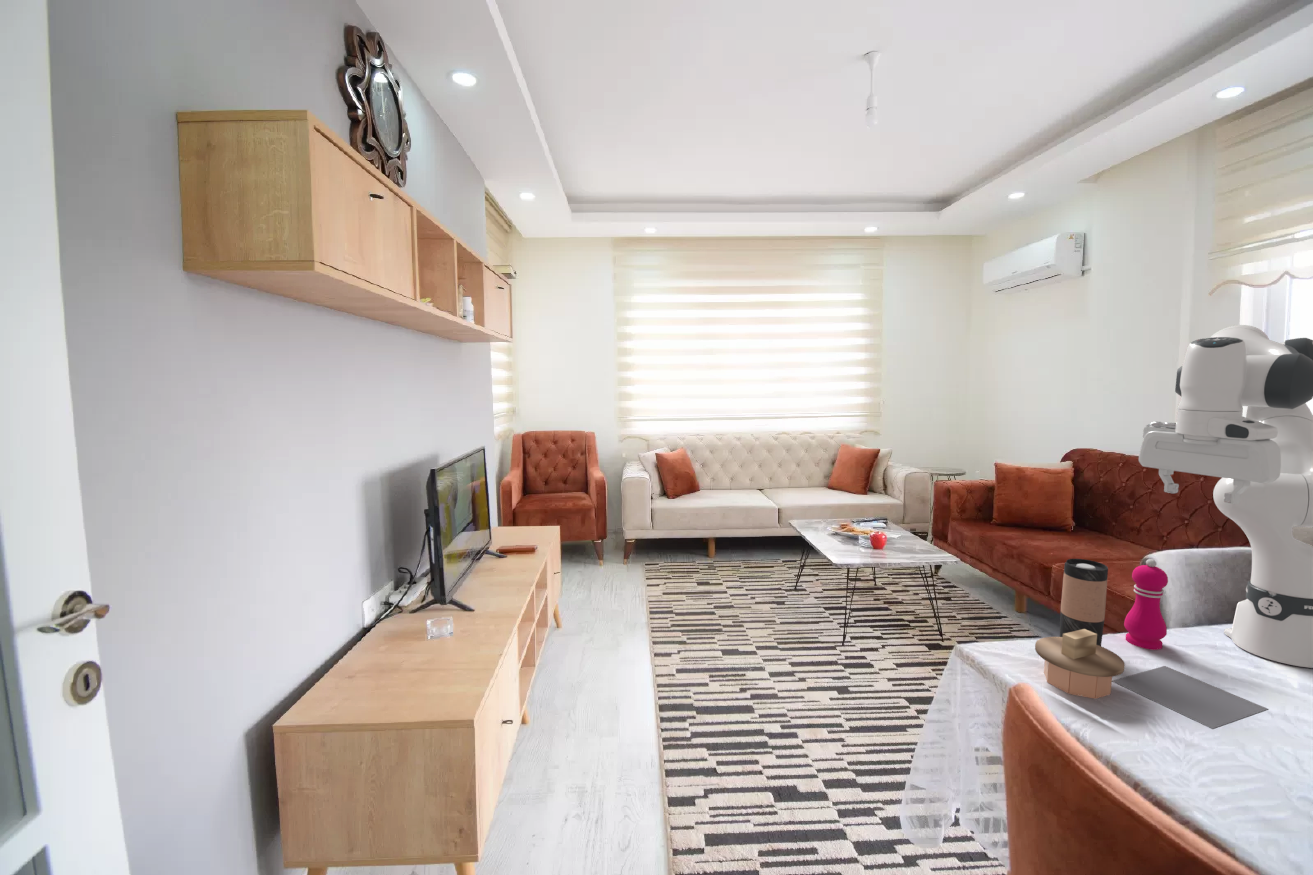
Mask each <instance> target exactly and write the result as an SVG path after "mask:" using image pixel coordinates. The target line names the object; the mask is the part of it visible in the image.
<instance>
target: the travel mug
mask: <svg viewBox="0 0 1313 875" xmlns="http://www.w3.org/2000/svg"><path fill="white" fill-rule="evenodd" d="M1108 575H1109V567H1108V566H1107V565H1105V564H1103V563H1101V562H1099V561H1096V560H1092V559H1091V560H1090V559H1086V558H1084V559H1083V558H1068V559H1066V562H1064V568H1063V578H1062V589H1061V590H1062V591H1061V601H1060V614H1059V615H1060V617H1059V618H1060V619H1059V620H1060V621H1059V637H1063V634H1064V633H1069V632H1073V631H1077V630H1082V629H1086V630H1088V631H1091V632H1093V633H1096V634H1097V643H1096V645H1099V646H1101V647H1102V641H1103V635H1104V634H1103V633H1104V626H1105V618H1106V617H1105V615H1106V602H1107V590H1108V577H1109V576H1108Z"/></svg>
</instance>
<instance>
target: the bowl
mask: <svg viewBox="0 0 1313 875" xmlns="http://www.w3.org/2000/svg"><path fill="white" fill-rule="evenodd" d="M1043 675H1044V677H1045V680H1046V683H1047V684H1050V686H1051V685H1052V686H1053V687H1055V688H1057V689H1059V690H1060V691H1063V692H1065V693H1067V694H1069V695H1073V696H1079V697H1084V698H1089V699H1095V700H1097V699H1099V698H1104V697H1106V696H1109V695H1111V694H1112V693H1111V692H1112V683H1113V682H1112V681H1113V676H1110V677H1099V676H1090V675H1084V674H1080V673H1076V672H1072V671H1069V670H1066V669H1063V668H1060V667H1058V666H1055V665H1053V664H1051V663H1049V662H1047V661H1046V660H1044V666H1043Z"/></svg>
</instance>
